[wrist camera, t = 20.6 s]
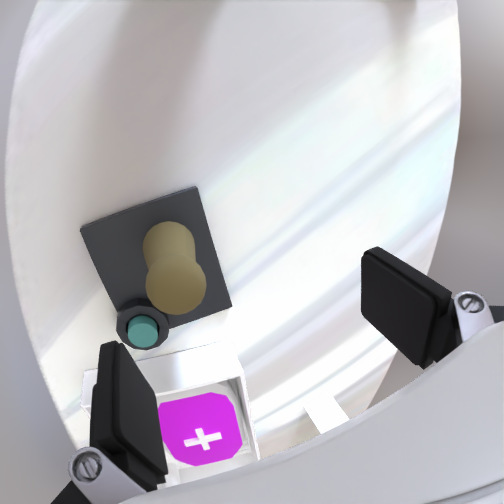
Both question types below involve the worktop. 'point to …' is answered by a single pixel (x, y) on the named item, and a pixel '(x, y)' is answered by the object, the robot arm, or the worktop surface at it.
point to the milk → (325, 412)
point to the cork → (172, 269)
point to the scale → (134, 265)
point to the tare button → (142, 331)
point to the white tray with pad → (197, 411)
